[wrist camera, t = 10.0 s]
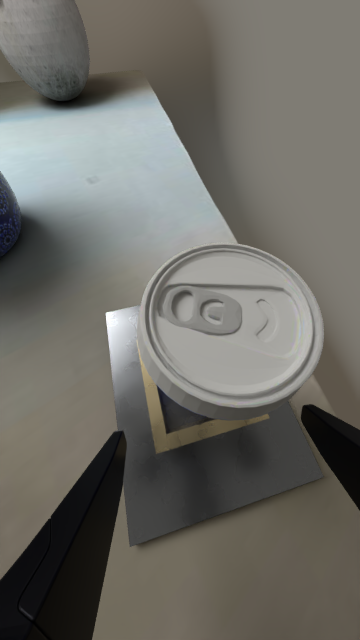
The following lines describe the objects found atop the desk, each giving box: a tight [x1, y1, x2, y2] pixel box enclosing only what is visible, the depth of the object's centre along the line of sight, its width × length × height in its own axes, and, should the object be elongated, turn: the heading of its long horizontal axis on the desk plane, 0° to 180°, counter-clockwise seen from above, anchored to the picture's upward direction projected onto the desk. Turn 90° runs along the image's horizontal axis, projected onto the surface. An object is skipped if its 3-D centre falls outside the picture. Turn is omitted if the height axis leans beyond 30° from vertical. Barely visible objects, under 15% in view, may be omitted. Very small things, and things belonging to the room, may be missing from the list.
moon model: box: [0, 0, 90, 101], centre depth 42 cm, size 20×20×20 cm
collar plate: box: [106, 305, 324, 547], centre depth 17 cm, size 20×16×4 cm
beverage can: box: [137, 243, 324, 421], centre depth 11 cm, size 5×5×15 cm
